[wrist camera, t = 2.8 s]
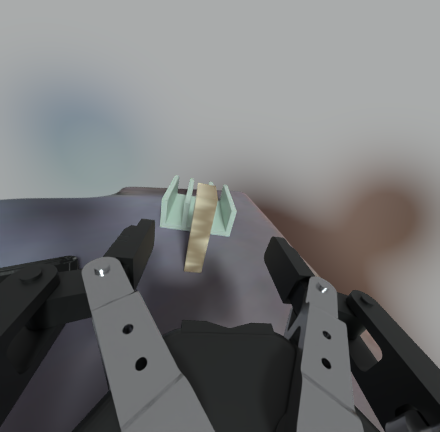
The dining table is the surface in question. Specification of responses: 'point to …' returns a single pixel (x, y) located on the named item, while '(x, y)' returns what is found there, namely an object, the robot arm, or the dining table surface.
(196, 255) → the tan wooden block
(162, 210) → the slotted rack
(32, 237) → the dining table surface
